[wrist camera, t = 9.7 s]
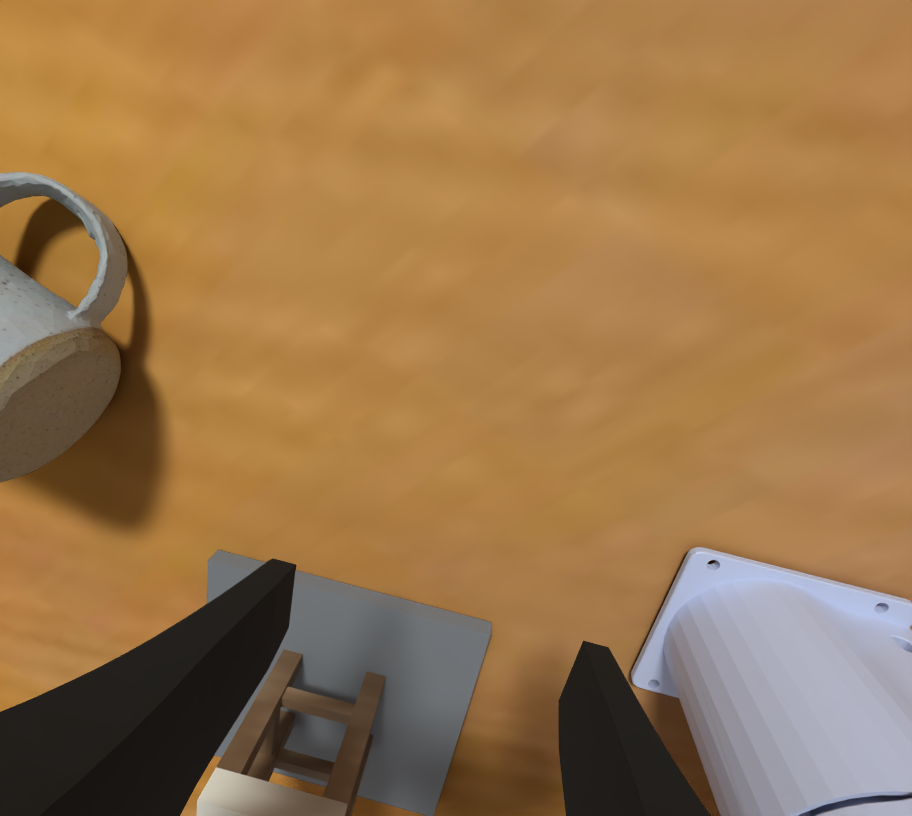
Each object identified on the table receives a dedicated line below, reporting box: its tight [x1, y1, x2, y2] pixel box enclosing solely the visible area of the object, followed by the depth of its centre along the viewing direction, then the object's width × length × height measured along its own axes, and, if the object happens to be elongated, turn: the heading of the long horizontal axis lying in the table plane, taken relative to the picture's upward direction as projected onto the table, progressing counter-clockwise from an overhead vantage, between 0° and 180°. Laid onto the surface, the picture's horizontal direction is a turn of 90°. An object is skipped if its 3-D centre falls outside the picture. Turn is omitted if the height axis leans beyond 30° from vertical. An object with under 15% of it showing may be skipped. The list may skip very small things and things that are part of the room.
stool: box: [197, 649, 386, 816], centre depth 22 cm, size 5×5×7 cm
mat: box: [207, 550, 492, 816], centre depth 25 cm, size 14×14×1 cm
